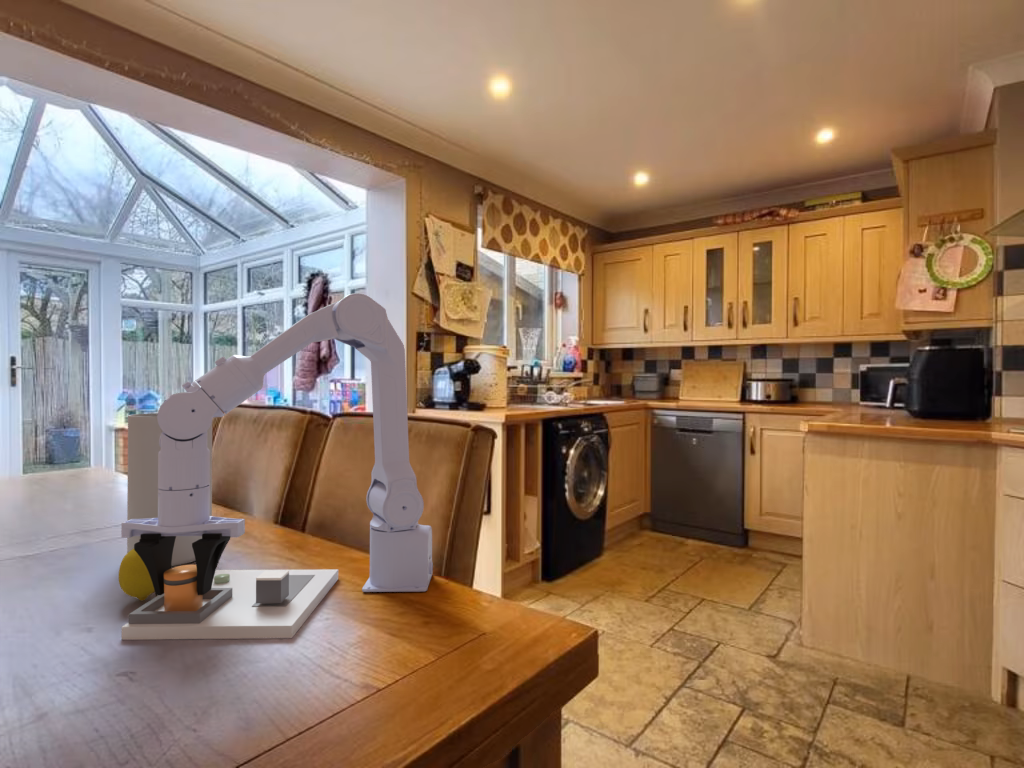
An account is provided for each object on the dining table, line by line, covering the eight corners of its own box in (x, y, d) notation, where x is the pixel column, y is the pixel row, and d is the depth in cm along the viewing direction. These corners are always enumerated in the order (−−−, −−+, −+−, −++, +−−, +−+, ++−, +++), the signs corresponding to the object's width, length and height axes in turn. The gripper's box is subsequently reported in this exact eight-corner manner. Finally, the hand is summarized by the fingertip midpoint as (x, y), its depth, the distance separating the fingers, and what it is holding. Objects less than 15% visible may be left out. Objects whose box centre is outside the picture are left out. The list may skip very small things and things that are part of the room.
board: (338, 578, 86) (338, 561, 86) (291, 638, 66) (291, 615, 66) (208, 579, 86) (208, 562, 86) (121, 639, 66) (121, 617, 66)
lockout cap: (209, 601, 73) (208, 564, 73) (191, 616, 69) (190, 576, 68) (176, 601, 73) (175, 564, 73) (156, 616, 69) (156, 577, 68)
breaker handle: (288, 595, 74) (288, 570, 74) (280, 603, 72) (281, 577, 72) (264, 595, 74) (265, 570, 74) (255, 603, 72) (256, 578, 72)
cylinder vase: (109, 563, 93) (110, 415, 93) (179, 543, 104) (180, 411, 104) (160, 573, 88) (161, 417, 88) (227, 551, 100) (228, 413, 99)
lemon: (142, 610, 74) (142, 550, 74) (108, 606, 75) (108, 547, 75) (175, 594, 79) (175, 539, 79) (142, 591, 81) (143, 536, 81)
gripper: (255, 480, 75) (254, 580, 75) (146, 480, 74) (145, 581, 74) (230, 491, 68) (229, 601, 68) (109, 491, 67) (109, 602, 67)
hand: (183, 592), depth 71 cm, fingers open, 5 cm apart
